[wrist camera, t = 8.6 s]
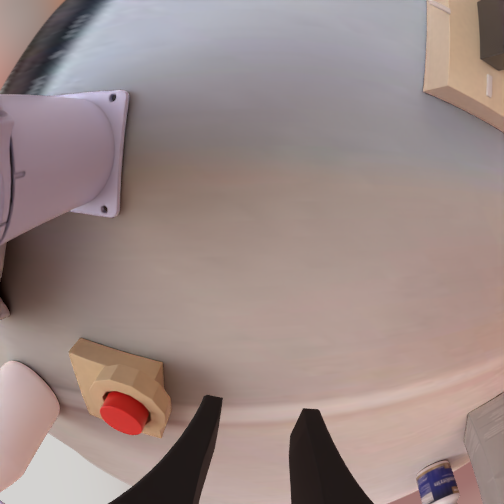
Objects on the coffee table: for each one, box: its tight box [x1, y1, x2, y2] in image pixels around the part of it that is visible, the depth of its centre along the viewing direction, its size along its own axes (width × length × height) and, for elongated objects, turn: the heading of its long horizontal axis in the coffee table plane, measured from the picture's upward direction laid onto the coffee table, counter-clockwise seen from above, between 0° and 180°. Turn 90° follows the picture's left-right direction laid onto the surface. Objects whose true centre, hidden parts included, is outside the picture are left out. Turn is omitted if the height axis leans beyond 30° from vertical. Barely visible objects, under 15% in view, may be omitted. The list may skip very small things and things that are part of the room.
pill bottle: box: [416, 461, 460, 504], centre depth 24 cm, size 6×6×10 cm
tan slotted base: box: [423, 0, 504, 133], centre depth 10 cm, size 11×10×3 cm
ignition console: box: [69, 338, 171, 438], centre depth 22 cm, size 9×10×4 cm
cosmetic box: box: [464, 393, 504, 504], centre depth 16 cm, size 8×7×16 cm
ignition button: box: [100, 391, 149, 435], centre depth 19 cm, size 4×4×2 cm
